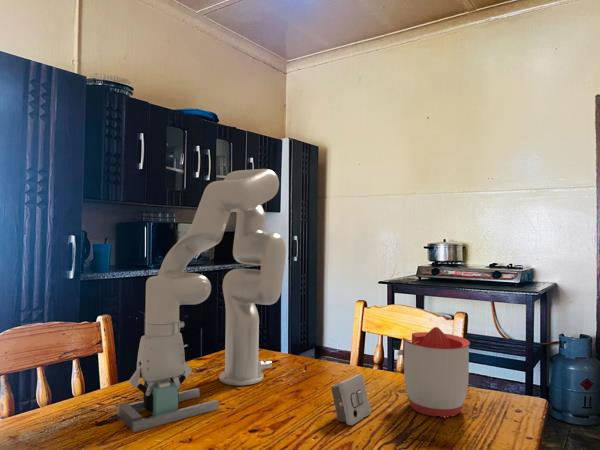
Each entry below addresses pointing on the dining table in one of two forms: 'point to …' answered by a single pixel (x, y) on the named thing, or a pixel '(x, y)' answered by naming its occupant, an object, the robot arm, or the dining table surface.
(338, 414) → the electrical switch
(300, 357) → the dining table surface
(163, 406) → the block
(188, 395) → the rail channel
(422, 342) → the citrus juicer
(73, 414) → the dining table surface
